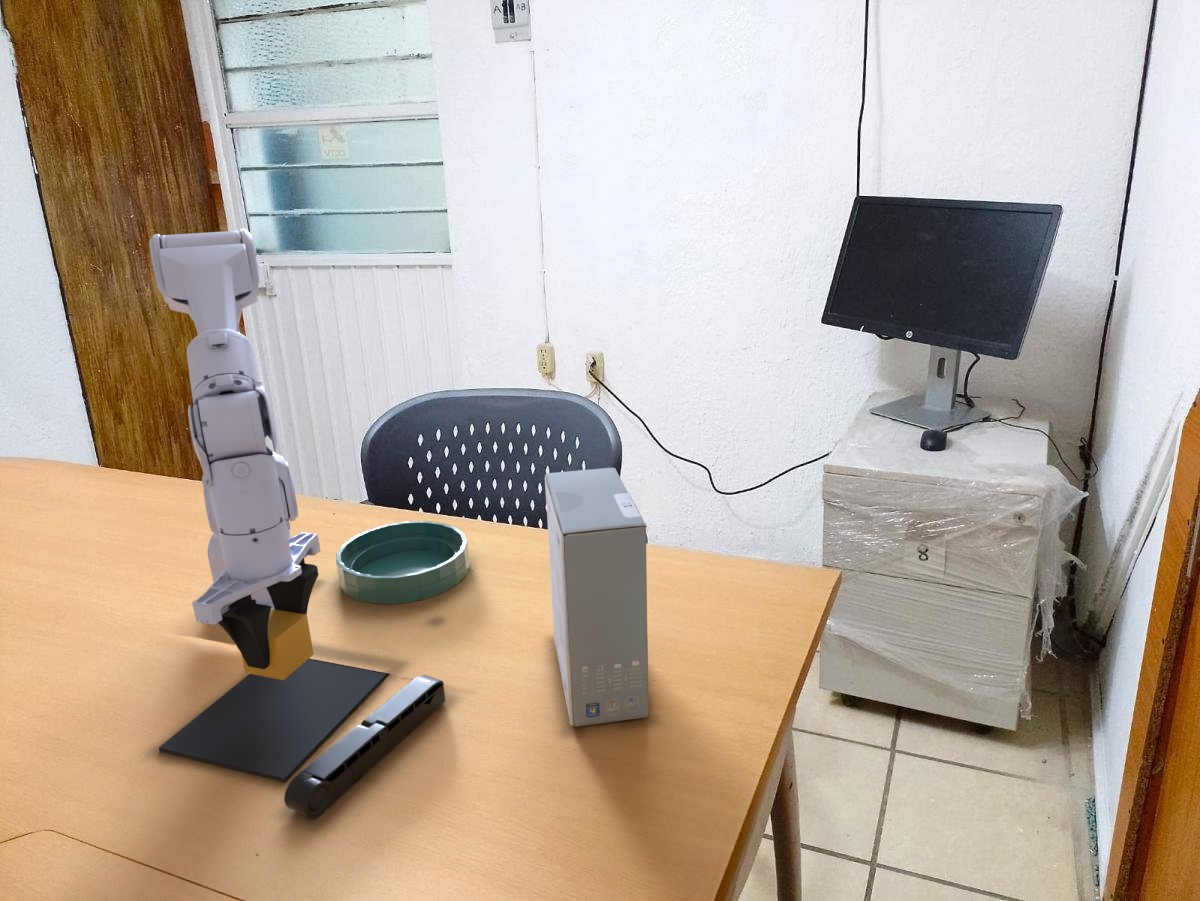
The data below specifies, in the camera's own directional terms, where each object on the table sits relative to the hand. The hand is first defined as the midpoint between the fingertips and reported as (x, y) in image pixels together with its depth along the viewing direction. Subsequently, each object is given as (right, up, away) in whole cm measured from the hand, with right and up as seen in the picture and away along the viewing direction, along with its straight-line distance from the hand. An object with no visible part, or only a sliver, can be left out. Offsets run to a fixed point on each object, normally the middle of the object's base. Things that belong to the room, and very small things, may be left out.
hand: (276, 651), depth 80 cm
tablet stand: (+11, -8, -5) cm, 14 cm away
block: (0, -1, 0) cm, 1 cm away
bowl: (+6, +3, +27) cm, 28 cm away
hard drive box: (+31, -4, +5) cm, 32 cm away
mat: (0, -6, +2) cm, 6 cm away
